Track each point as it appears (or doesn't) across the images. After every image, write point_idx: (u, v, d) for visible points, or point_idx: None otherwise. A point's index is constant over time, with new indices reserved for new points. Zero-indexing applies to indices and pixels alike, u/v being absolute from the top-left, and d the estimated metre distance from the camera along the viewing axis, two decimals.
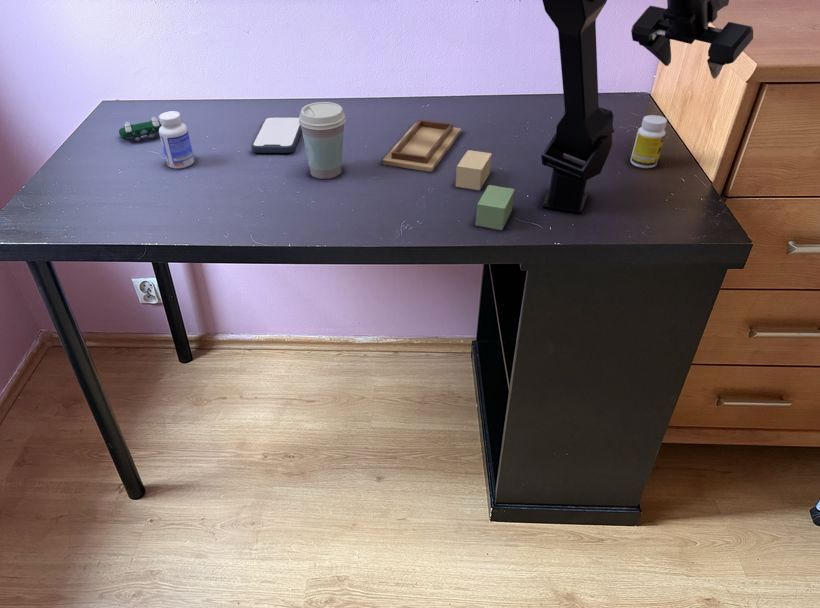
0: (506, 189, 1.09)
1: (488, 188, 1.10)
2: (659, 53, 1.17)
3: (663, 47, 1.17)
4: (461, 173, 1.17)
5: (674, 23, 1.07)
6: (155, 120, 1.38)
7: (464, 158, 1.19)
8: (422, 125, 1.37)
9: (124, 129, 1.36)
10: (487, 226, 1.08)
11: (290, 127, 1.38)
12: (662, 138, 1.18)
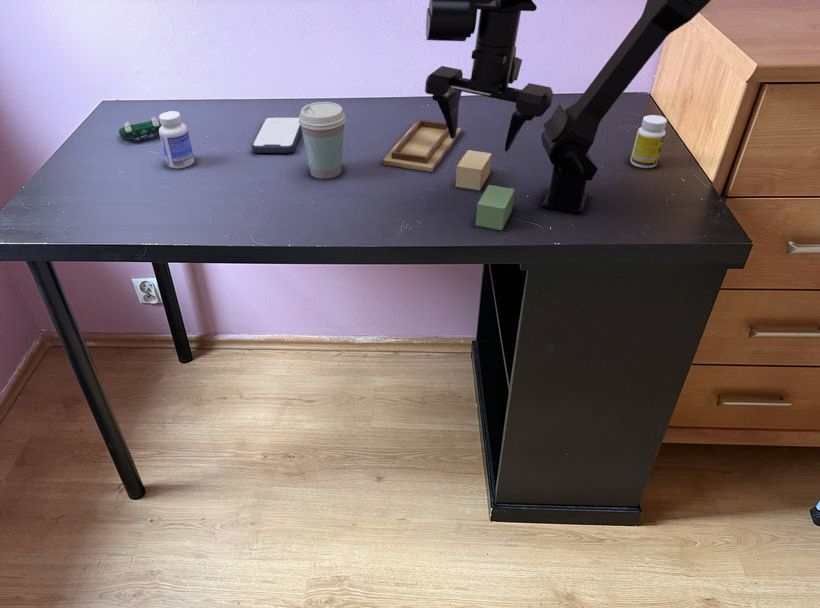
0: (506, 189, 1.09)
1: (488, 188, 1.10)
2: (451, 115, 1.04)
3: (454, 112, 1.05)
4: (461, 173, 1.17)
5: (483, 64, 0.96)
6: (155, 120, 1.38)
7: (464, 158, 1.19)
8: (422, 125, 1.37)
9: (124, 129, 1.36)
10: (487, 226, 1.08)
11: (290, 127, 1.38)
12: (662, 138, 1.18)
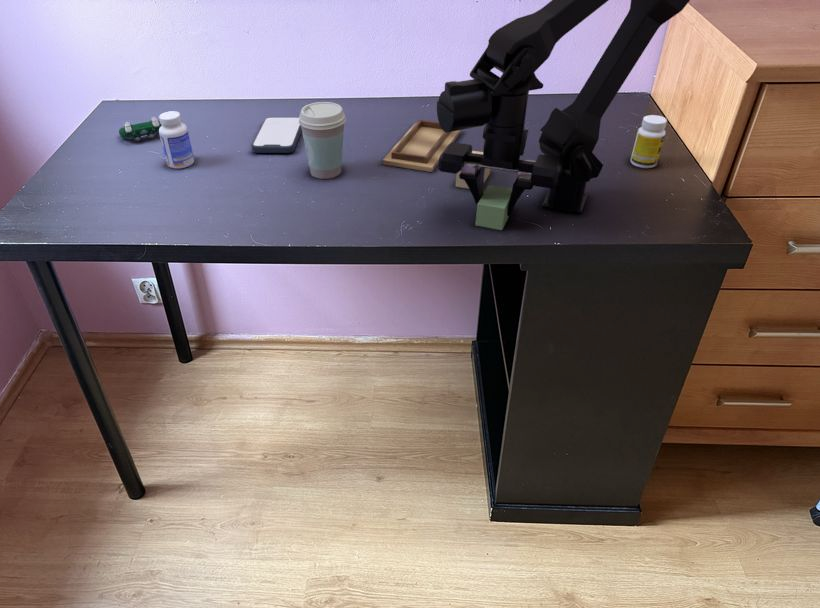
0: (506, 189, 1.09)
1: (488, 188, 1.10)
2: (478, 191, 1.06)
3: (480, 187, 1.07)
4: None
5: (496, 143, 0.99)
6: (155, 120, 1.38)
7: None
8: (422, 125, 1.37)
9: (124, 129, 1.36)
10: (487, 226, 1.08)
11: (290, 127, 1.38)
12: (662, 138, 1.18)
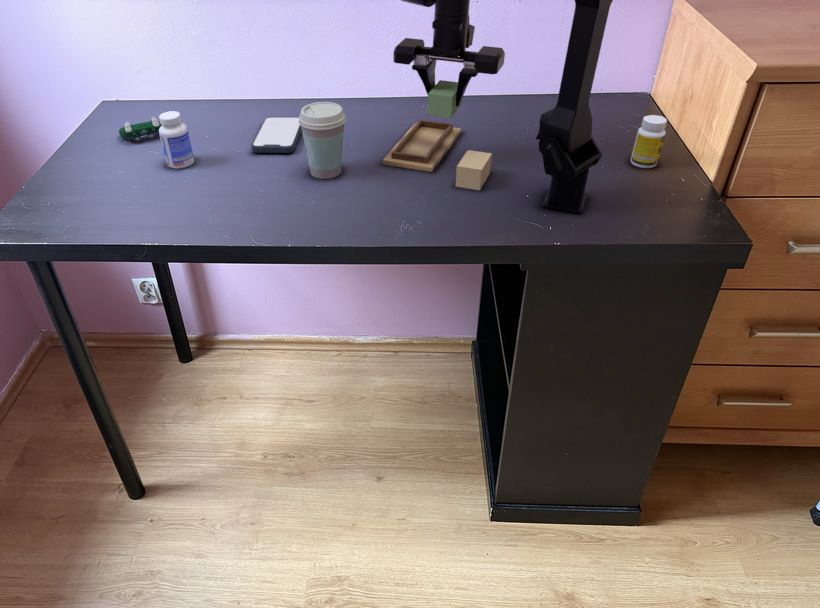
0: (455, 83, 1.21)
1: (439, 82, 1.21)
2: (430, 82, 1.18)
3: (432, 79, 1.19)
4: (461, 173, 1.17)
5: (443, 32, 1.10)
6: (155, 120, 1.38)
7: (464, 158, 1.19)
8: (422, 125, 1.37)
9: (124, 129, 1.36)
10: (437, 115, 1.19)
11: (290, 127, 1.38)
12: (662, 138, 1.18)
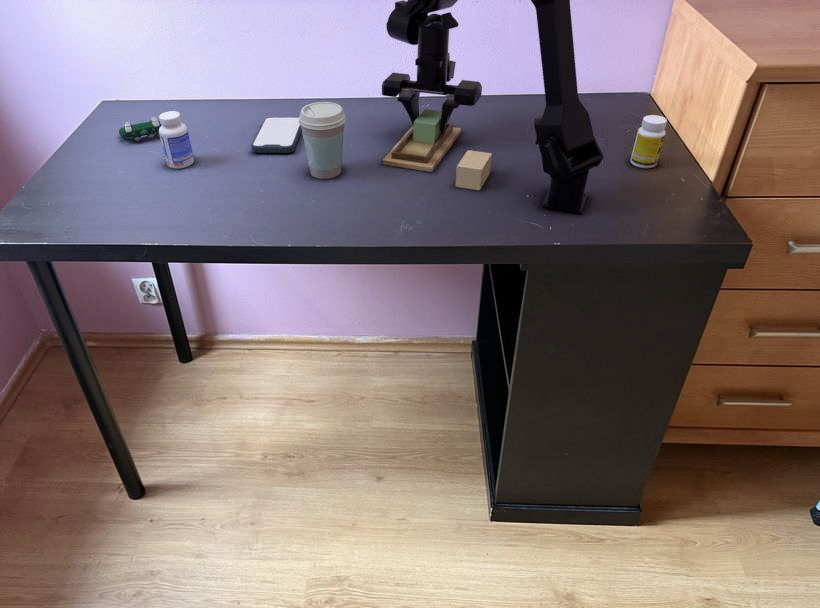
0: (439, 112, 1.32)
1: (424, 111, 1.33)
2: (413, 112, 1.30)
3: (415, 109, 1.31)
4: (461, 173, 1.17)
5: (425, 68, 1.23)
6: (155, 120, 1.38)
7: (464, 158, 1.19)
8: None
9: (124, 129, 1.36)
10: (422, 141, 1.31)
11: (290, 127, 1.38)
12: (662, 138, 1.18)
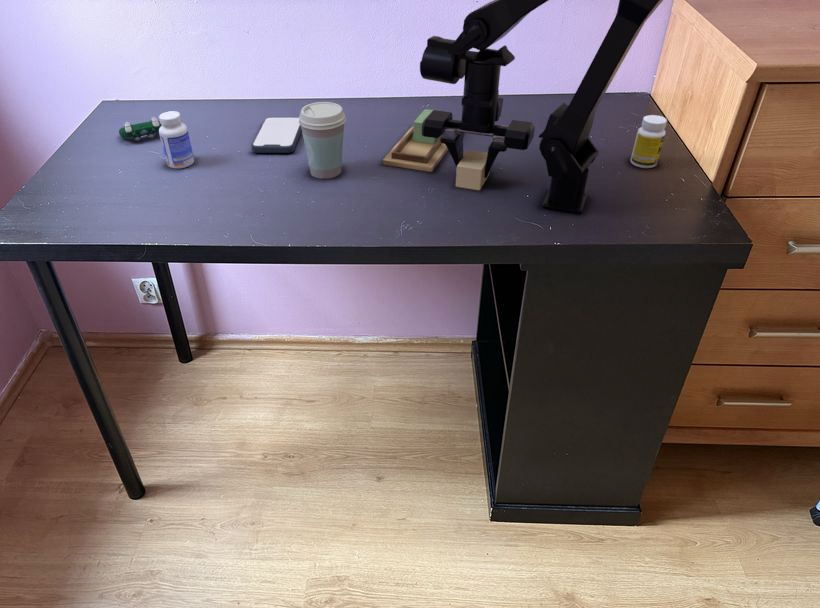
0: None
1: (424, 111, 1.33)
2: (458, 155, 1.17)
3: (460, 151, 1.18)
4: (461, 173, 1.17)
5: (473, 108, 1.10)
6: (155, 120, 1.38)
7: (464, 158, 1.19)
8: None
9: (124, 129, 1.36)
10: (422, 141, 1.31)
11: (290, 127, 1.38)
12: (662, 138, 1.18)
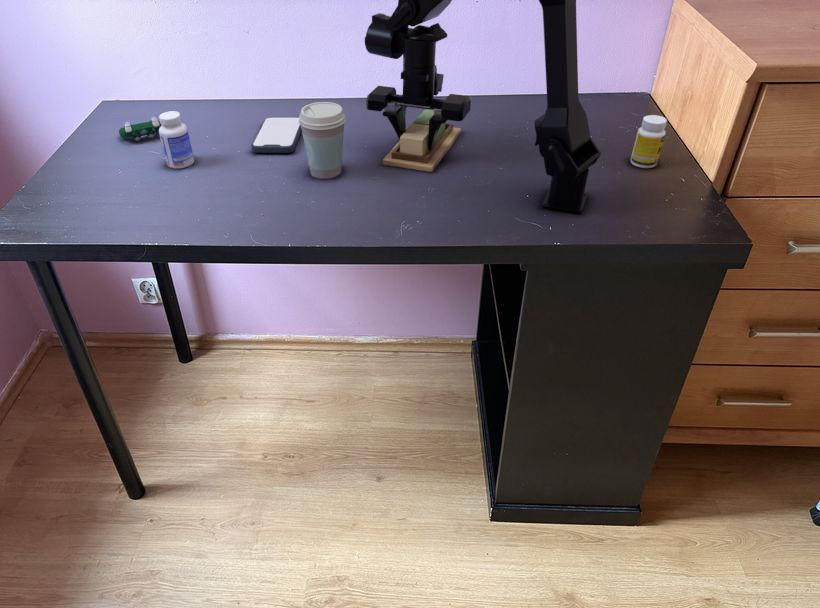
0: None
1: (424, 111, 1.33)
2: (400, 127, 1.25)
3: (402, 124, 1.25)
4: (404, 144, 1.25)
5: (411, 82, 1.17)
6: (155, 120, 1.38)
7: (408, 130, 1.26)
8: None
9: (124, 129, 1.36)
10: None
11: (290, 127, 1.38)
12: (662, 138, 1.18)
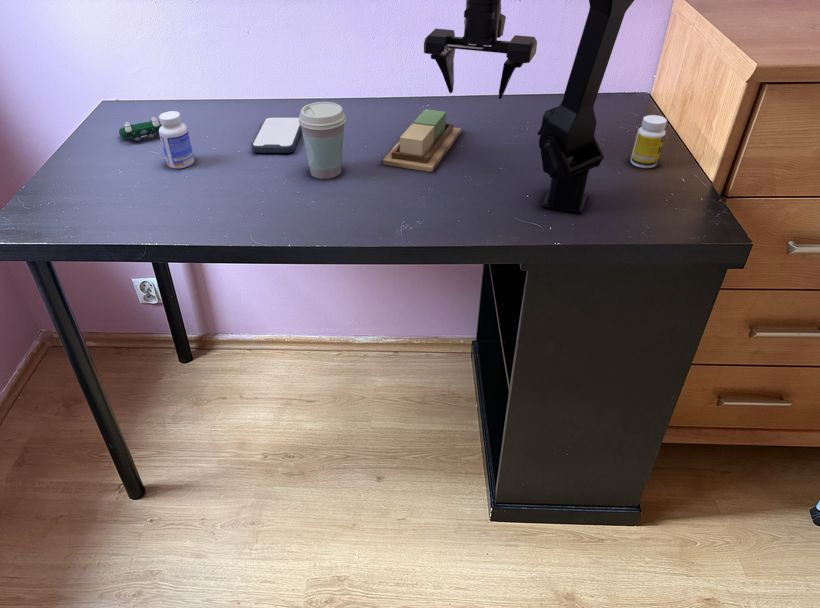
0: (439, 112, 1.32)
1: (424, 111, 1.33)
2: (448, 71, 1.17)
3: (450, 68, 1.18)
4: (404, 144, 1.25)
5: (475, 21, 1.09)
6: (155, 120, 1.38)
7: (408, 130, 1.26)
8: None
9: (124, 129, 1.36)
10: None
11: (290, 127, 1.38)
12: (662, 138, 1.18)
